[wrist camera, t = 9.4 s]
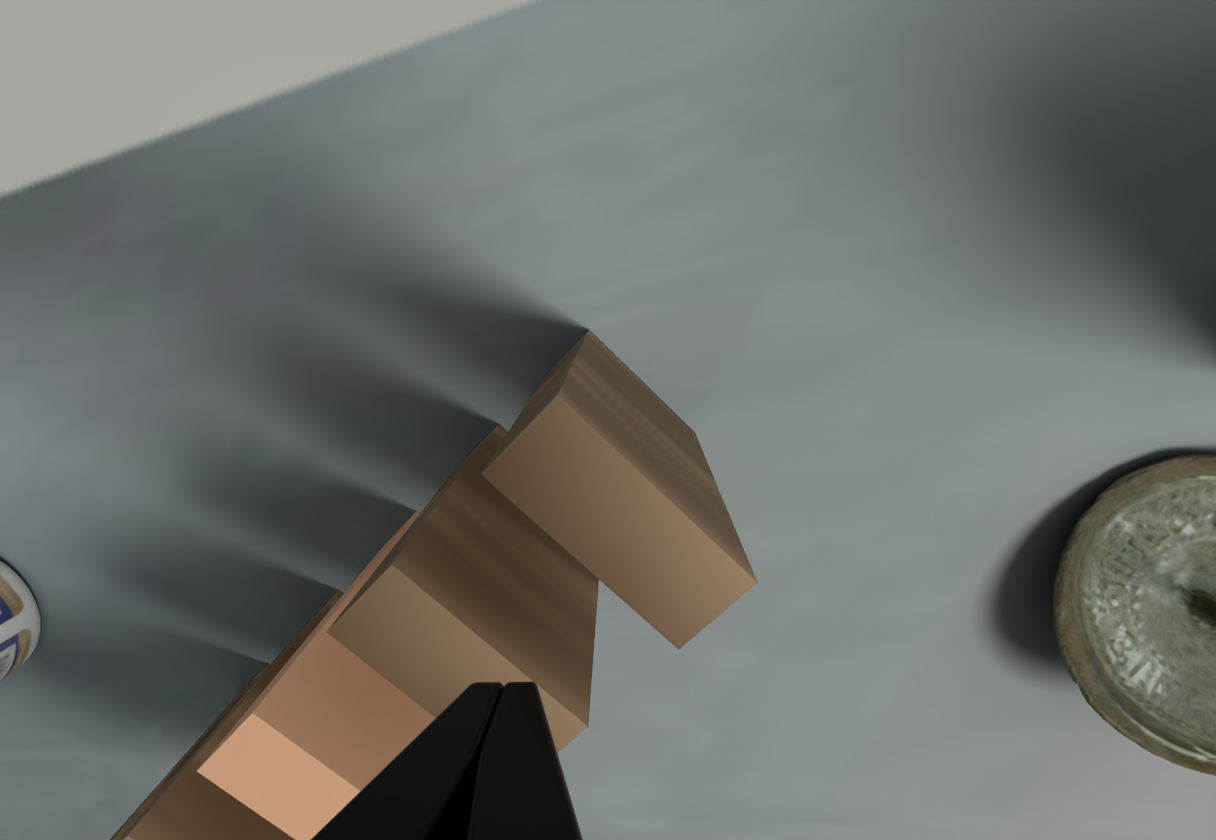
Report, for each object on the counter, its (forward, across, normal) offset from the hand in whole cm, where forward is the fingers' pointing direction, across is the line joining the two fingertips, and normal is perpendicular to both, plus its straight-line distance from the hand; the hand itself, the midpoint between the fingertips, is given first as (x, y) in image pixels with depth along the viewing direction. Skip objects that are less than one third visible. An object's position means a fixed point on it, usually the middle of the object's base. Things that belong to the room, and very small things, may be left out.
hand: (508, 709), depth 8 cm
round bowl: (+14, -21, +6) cm, 26 cm away
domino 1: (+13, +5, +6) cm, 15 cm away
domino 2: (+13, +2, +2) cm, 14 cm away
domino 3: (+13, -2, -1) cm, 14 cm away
